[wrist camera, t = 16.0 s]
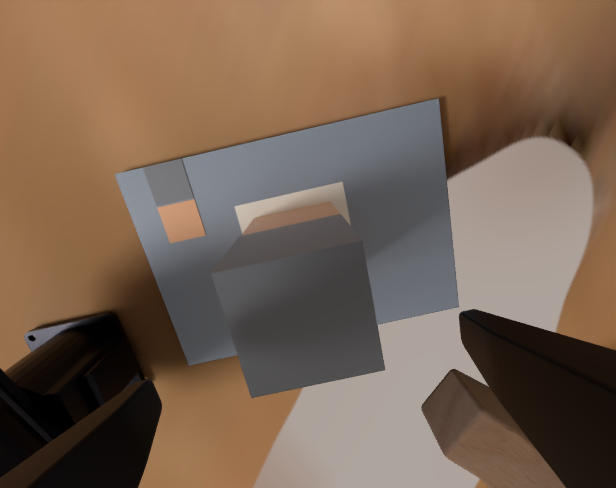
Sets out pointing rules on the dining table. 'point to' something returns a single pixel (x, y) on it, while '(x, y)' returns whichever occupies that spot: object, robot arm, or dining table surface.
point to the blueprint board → (297, 194)
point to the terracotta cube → (291, 217)
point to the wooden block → (484, 435)
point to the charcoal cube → (299, 305)
